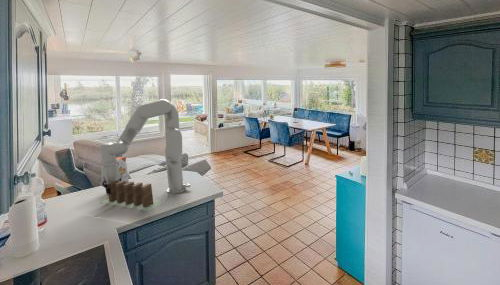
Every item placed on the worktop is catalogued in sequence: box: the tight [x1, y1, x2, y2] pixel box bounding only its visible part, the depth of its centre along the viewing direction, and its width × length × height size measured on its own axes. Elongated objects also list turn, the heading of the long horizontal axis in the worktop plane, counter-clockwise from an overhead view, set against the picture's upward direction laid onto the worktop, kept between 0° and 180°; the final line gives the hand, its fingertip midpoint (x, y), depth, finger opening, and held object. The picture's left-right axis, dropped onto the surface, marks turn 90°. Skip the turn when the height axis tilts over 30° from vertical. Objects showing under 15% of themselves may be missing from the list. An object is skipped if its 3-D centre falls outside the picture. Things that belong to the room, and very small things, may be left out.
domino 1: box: [107, 181, 118, 202], centre depth 170 cm, size 2×6×12 cm, turn 158°
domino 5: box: [140, 183, 154, 207], centre depth 160 cm, size 2×6×12 cm, turn 158°
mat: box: [99, 197, 164, 212], centre depth 166 cm, size 38×12×1 cm, turn 68°
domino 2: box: [115, 181, 126, 203], centre depth 167 cm, size 2×6×12 cm, turn 158°
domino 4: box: [132, 182, 144, 206], centre depth 162 cm, size 2×6×12 cm, turn 158°
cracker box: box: [116, 156, 129, 183], centre depth 190 cm, size 14×6×21 cm, turn 168°
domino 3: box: [123, 181, 135, 205], centre depth 165 cm, size 2×6×12 cm, turn 158°
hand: (113, 191), depth 170 cm, fingers open, 6 cm apart
